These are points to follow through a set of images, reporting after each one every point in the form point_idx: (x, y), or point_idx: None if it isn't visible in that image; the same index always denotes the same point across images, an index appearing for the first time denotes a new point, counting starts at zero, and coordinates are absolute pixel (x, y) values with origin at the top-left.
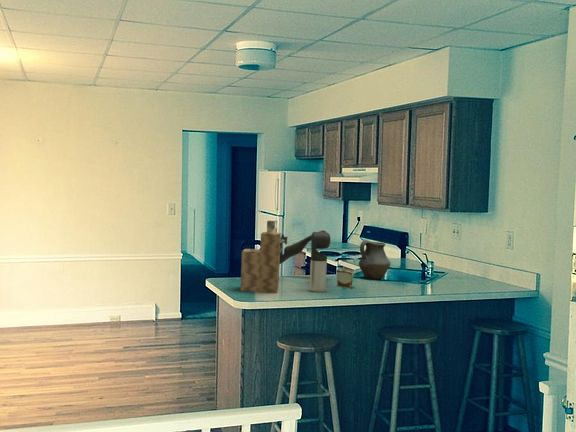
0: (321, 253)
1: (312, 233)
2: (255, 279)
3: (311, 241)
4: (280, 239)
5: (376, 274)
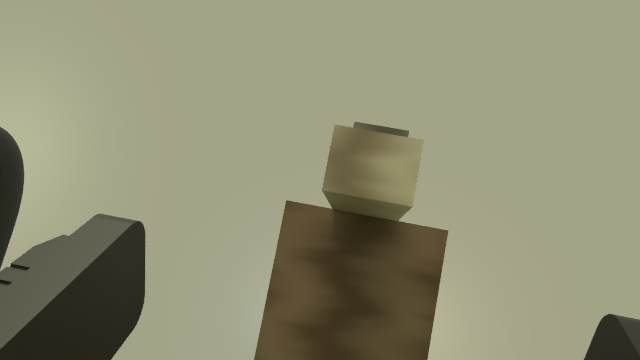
0: None
1: (14, 142)
2: None
3: (11, 212)
4: (275, 260)
5: None
